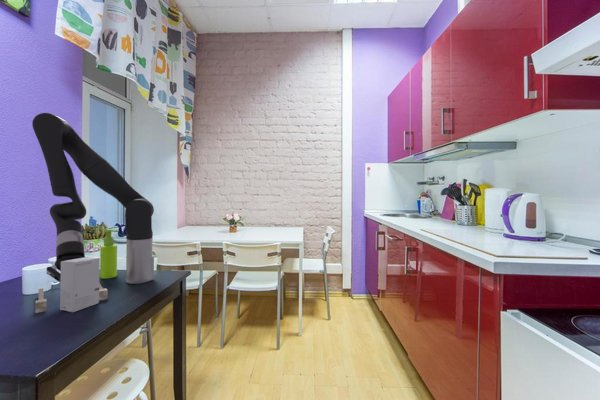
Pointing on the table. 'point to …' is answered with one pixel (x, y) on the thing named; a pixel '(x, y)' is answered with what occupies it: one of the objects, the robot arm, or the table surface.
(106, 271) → the soap dispenser
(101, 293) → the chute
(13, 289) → the table surface
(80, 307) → the skincare box
